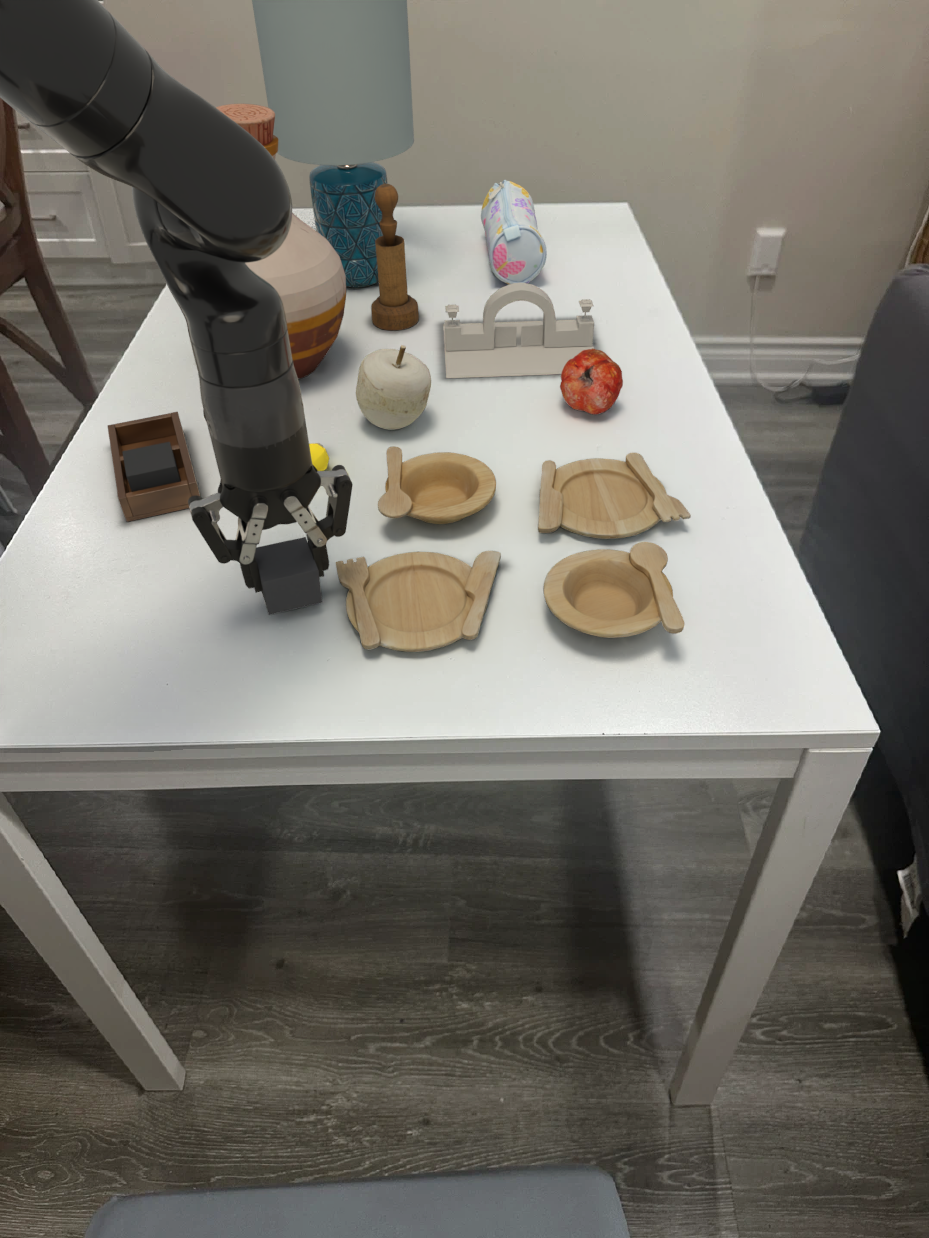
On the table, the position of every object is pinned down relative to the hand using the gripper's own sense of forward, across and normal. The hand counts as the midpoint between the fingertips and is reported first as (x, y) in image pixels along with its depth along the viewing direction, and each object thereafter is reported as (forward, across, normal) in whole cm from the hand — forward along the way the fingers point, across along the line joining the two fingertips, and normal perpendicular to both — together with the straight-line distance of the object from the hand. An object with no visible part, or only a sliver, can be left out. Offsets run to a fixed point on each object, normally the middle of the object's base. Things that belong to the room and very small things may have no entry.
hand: (288, 578), depth 80 cm
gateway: (+3, +40, +38) cm, 55 cm away
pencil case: (+3, +50, +64) cm, 81 cm away
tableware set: (+3, +22, -1) cm, 23 cm away
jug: (+3, +8, +45) cm, 46 cm away
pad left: (+2, -10, +22) cm, 24 cm away
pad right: (+2, 0, 0) cm, 2 cm away
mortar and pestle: (+3, +26, +52) cm, 58 cm away
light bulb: (+3, +7, +21) cm, 22 cm away
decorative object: (+3, +18, +26) cm, 32 cm away
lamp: (+3, +26, +68) cm, 72 cm away
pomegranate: (+3, +41, +21) cm, 46 cm away
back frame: (+3, -10, +26) cm, 28 cm away
